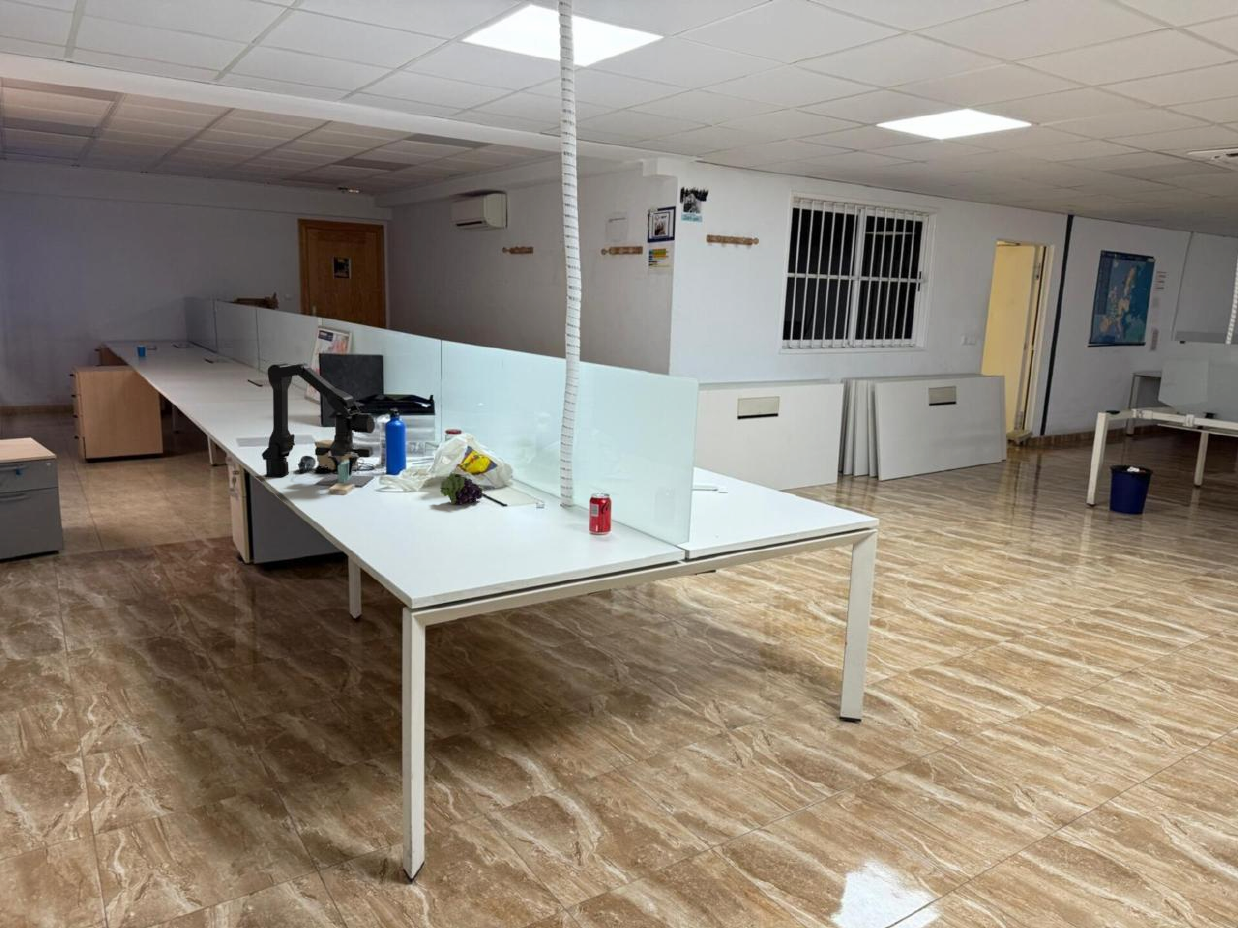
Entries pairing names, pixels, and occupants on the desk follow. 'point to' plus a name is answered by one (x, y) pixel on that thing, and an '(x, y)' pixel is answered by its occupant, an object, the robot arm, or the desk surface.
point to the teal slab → (343, 472)
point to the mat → (356, 480)
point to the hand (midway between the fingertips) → (345, 475)
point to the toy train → (327, 461)
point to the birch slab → (341, 488)
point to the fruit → (460, 489)
